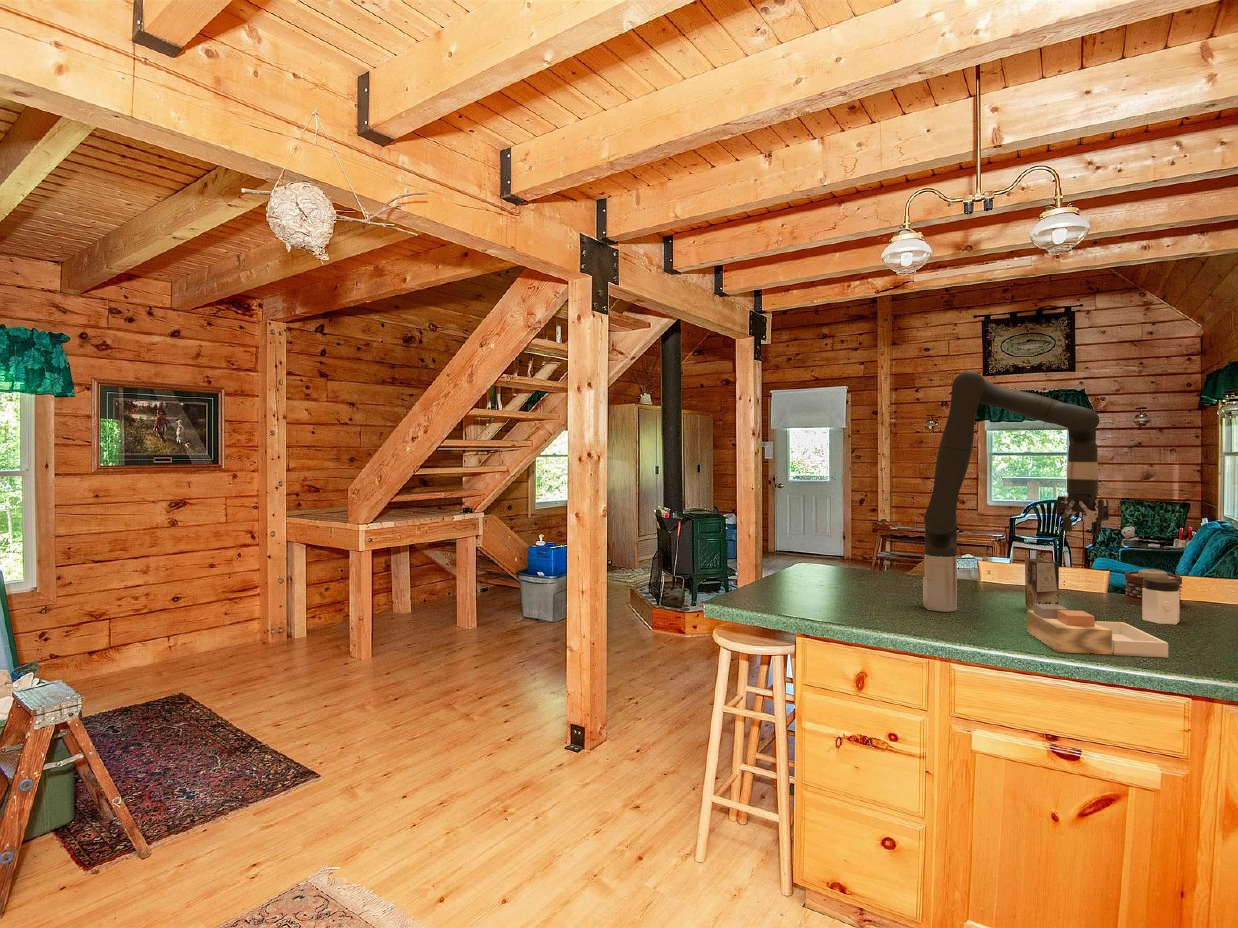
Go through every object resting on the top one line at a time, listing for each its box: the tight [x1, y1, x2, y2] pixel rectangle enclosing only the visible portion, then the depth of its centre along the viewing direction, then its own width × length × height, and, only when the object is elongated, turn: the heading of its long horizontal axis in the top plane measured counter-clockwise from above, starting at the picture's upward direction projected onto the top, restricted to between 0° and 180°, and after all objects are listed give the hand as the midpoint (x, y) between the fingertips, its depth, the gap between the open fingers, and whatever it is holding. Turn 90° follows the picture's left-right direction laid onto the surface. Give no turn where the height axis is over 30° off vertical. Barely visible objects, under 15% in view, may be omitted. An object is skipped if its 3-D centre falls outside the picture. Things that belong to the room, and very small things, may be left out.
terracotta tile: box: [1057, 609, 1095, 627], centre depth 170 cm, size 6×6×2 cm
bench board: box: [1026, 609, 1113, 655], centre depth 173 cm, size 12×19×6 cm, turn 168°
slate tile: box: [1034, 604, 1069, 619], centre depth 177 cm, size 6×6×2 cm
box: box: [1095, 620, 1169, 659], centre depth 171 cm, size 11×20×4 cm, turn 168°
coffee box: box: [1024, 558, 1060, 611], centre depth 206 cm, size 9×6×16 cm
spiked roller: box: [1124, 568, 1184, 609], centre depth 215 cm, size 15×11×15 cm
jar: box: [1141, 578, 1180, 626], centre depth 194 cm, size 9×8×12 cm
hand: (1081, 533), depth 193 cm, fingers open, 8 cm apart
